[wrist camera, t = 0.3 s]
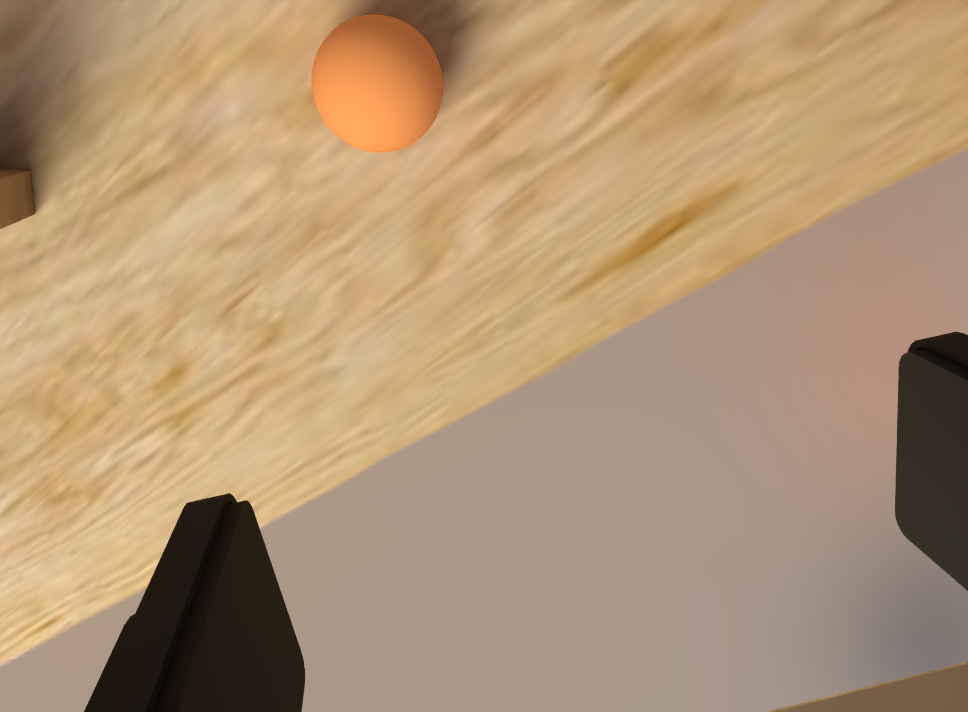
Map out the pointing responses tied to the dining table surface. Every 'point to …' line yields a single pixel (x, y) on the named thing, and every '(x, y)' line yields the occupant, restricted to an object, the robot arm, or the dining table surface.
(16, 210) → the bridge
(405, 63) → the ball
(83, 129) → the dining table surface
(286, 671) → the robot arm
